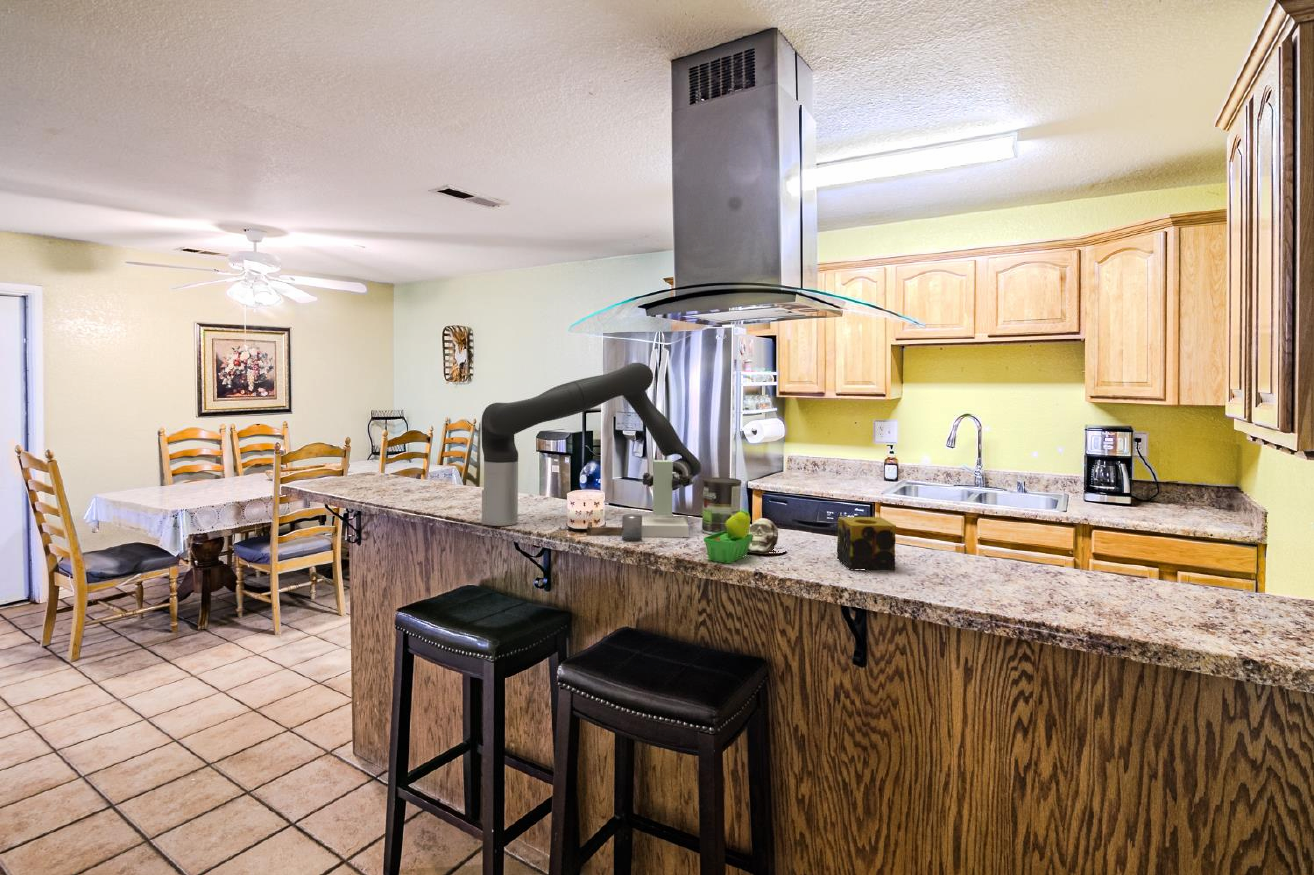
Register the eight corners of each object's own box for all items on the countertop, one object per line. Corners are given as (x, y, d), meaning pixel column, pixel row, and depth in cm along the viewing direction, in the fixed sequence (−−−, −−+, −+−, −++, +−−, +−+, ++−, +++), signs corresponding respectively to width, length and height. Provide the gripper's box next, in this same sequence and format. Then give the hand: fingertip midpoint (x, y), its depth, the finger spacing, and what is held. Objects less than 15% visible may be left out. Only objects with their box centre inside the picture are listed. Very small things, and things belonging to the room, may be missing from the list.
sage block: (652, 515, 179) (653, 461, 178) (652, 511, 184) (653, 459, 183) (672, 515, 179) (672, 462, 178) (671, 512, 184) (672, 460, 183)
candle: (879, 560, 156) (881, 516, 156) (896, 571, 146) (898, 525, 146) (835, 559, 156) (837, 516, 155) (849, 571, 146) (850, 524, 145)
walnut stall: (586, 535, 177) (586, 527, 176) (588, 527, 187) (589, 519, 187) (629, 535, 177) (629, 527, 177) (629, 527, 188) (629, 520, 187)
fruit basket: (723, 551, 162) (724, 503, 161) (758, 556, 157) (760, 507, 157) (701, 560, 152) (702, 510, 151) (738, 566, 148) (739, 514, 147)
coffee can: (713, 536, 178) (715, 482, 177) (694, 529, 187) (696, 478, 186) (747, 534, 182) (749, 481, 181) (727, 527, 192) (728, 476, 191)
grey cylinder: (622, 541, 170) (622, 517, 169) (621, 537, 175) (621, 513, 174) (642, 541, 170) (642, 517, 170) (641, 537, 175) (641, 514, 175)
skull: (782, 555, 155) (754, 518, 157) (750, 580, 159) (722, 544, 161) (797, 543, 165) (770, 509, 168) (766, 567, 169) (740, 534, 172)
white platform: (637, 536, 176) (637, 525, 175) (636, 527, 188) (637, 516, 187) (688, 537, 176) (688, 525, 176) (684, 528, 188) (684, 517, 188)
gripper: (648, 461, 196) (634, 467, 180) (698, 463, 193) (688, 469, 177) (648, 487, 197) (634, 496, 180) (698, 489, 194) (688, 498, 177)
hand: (661, 483), depth 179 cm, fingers closed on sage block, 6 cm apart
